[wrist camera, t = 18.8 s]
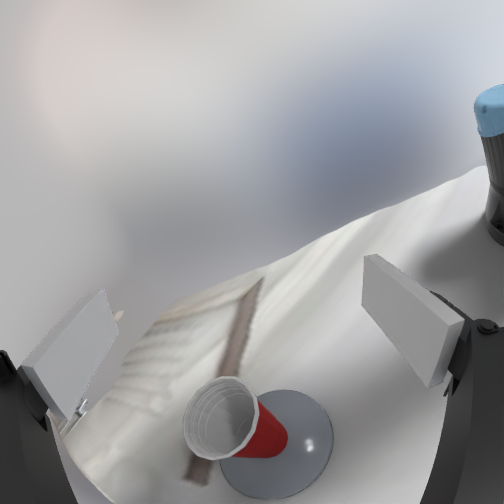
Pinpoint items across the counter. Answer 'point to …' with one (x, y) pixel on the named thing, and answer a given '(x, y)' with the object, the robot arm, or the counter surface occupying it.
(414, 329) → the robot arm
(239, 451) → the plastic cup
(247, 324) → the counter surface
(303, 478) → the gray round coaster
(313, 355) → the counter surface
